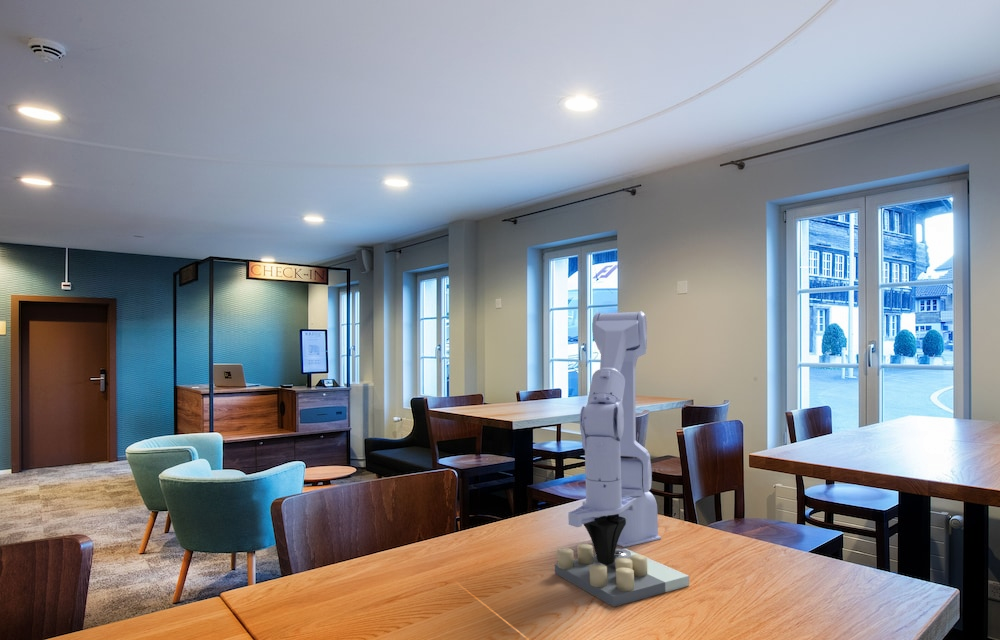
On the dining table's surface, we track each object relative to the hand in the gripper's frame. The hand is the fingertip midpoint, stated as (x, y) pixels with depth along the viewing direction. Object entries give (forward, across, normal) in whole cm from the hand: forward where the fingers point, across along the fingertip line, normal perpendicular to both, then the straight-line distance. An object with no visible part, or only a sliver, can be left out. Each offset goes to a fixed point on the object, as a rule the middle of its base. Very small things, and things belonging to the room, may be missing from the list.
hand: (605, 562), depth 98 cm
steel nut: (+1, -3, 0) cm, 3 cm away
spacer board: (+2, -1, +2) cm, 3 cm away
